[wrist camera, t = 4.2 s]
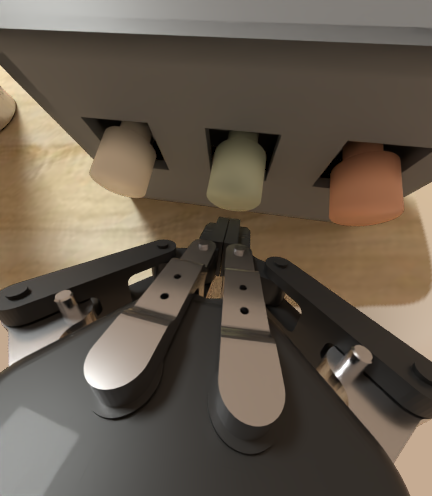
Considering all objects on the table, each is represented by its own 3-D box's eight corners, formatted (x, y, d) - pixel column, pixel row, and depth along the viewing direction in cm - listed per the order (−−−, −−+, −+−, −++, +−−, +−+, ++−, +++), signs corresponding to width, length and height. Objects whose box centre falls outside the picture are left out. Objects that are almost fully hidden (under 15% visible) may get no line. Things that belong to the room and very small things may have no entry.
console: (353, 225, 22) (662, 55, 6) (129, 195, 24) (-39, 26, 9) (352, 153, 24) (580, -101, 9) (148, 134, 27) (41, -86, 11)
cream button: (153, 200, 16) (130, 171, 12) (110, 194, 17) (75, 164, 13) (171, 135, 18) (155, 90, 14) (132, 131, 18) (106, 87, 14)
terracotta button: (371, 229, 15) (424, 205, 11) (318, 222, 15) (351, 196, 11) (369, 153, 16) (415, 109, 12) (322, 149, 16) (351, 104, 13)
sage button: (256, 214, 15) (266, 186, 11) (209, 207, 16) (203, 179, 12) (265, 143, 17) (276, 99, 13) (222, 139, 17) (220, 95, 13)
